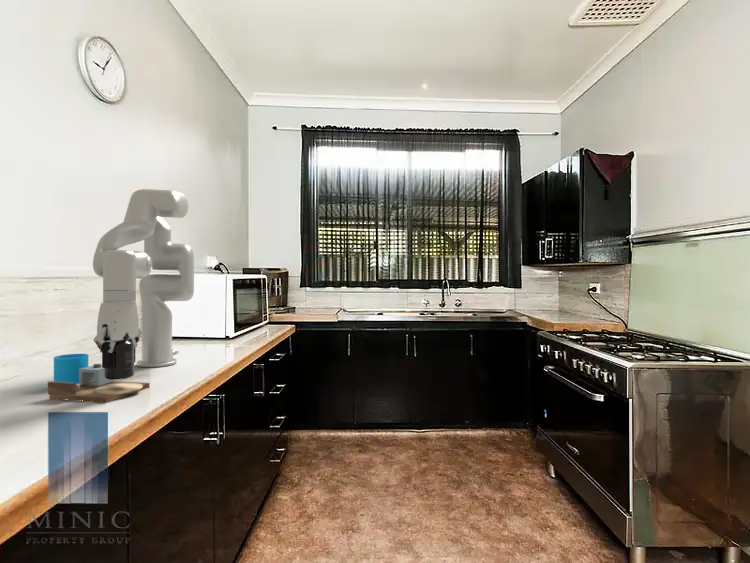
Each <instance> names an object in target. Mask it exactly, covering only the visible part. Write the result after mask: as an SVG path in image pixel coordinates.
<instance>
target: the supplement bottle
mask: <svg viewBox="0 0 750 563" xmlns="http://www.w3.org/2000/svg"><path fill="white" fill-rule="evenodd" d="M128 338H130V336H128V334H125V336H124V337H123V339H124V340H121V341H118V342H116V344H115V347H114V350H113V352H115V367H114V368H104V371H105V378H106V379H110V380H115V381H117V380H124V379H129V378H132V377H134V375H135V363H134V344H133V342H131V341H130V340H129V339H128ZM109 340H110V339H109ZM107 345H108V346H109V345H110V343H108V344H107Z"/></svg>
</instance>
